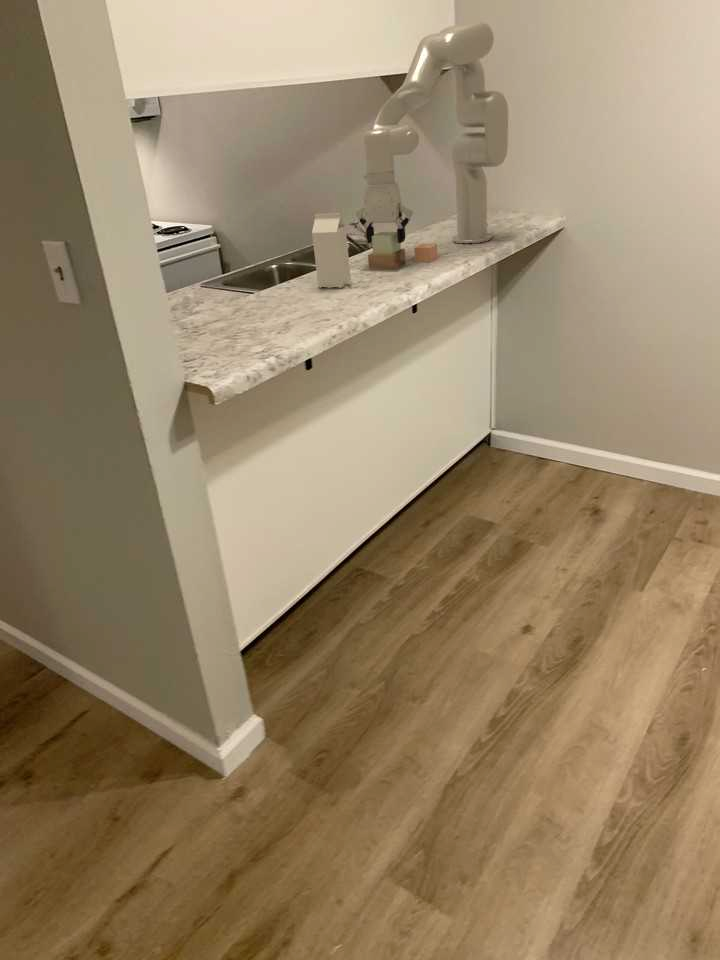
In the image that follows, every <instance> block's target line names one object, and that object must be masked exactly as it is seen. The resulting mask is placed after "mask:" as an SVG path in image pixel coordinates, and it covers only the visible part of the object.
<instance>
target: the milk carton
mask: <svg viewBox="0 0 720 960" xmlns="http://www.w3.org/2000/svg"><path fill="white" fill-rule="evenodd" d="M346 229H347V227H346V225H345V223H344V221H343V219H342V218H341V213H340V212H337V213H316V214H314V222H313V227H312V230H311V234H312V235H311V236H312V245H313V252H314V259H315V269H316V278H317V285H318V286H317V287H318V288H319V287H320V288H319V289H322V288H321V287H328V288H327V289H330V288H329V287H343V288H344V287H345V286H347V285H346V284H347V282H349V281H350V280H351V279H352V278H351V267H350V258H349V249H348V247H349V246H348V236H347V230H346Z"/></svg>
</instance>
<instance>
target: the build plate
mask: <svg viewBox="0 0 720 960" xmlns="http://www.w3.org/2000/svg"><path fill="white" fill-rule="evenodd" d="M405 262H406V263H404V264H403V265H401V266H399V267H397V268H396V269H394V270H388V269H369V265H367V266H366V267H363V268H362V269H360V270H359V271H362V272H368V271H369V272H387V273H388V272H393V273H398V272H400V271H401V270H403V269H404V268H406V267H407V266H410V265H411V264H413V263H414V262H415V261H414V260H413V261H412V260H405Z"/></svg>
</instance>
